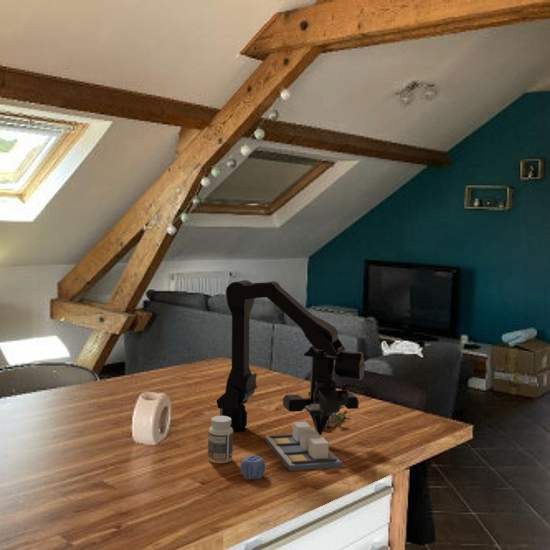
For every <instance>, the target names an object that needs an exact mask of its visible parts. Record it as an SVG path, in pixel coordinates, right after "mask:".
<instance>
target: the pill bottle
mask: <svg viewBox="0 0 550 550" xmlns="http://www.w3.org/2000/svg"><path fill="white" fill-rule="evenodd" d="M210 420H211V421H210V423H211V426H210V427H209V429H208V432H207V433H208V439H207V440H208V442H207V459H208V461H209V462H211V463H214V464H226V463H230V462H231V461H232V460H233V449H234V448H233V446H234V431H233V429H232V428H231V427H230V425H231V418H230V417H227V416H220V415H216V416H212V417H211V419H210Z"/></svg>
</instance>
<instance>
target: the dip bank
mask: <svg viewBox="0 0 550 550" xmlns="http://www.w3.org/2000/svg"><path fill="white" fill-rule="evenodd" d="M292 434H293V433H292ZM292 434H290V433H289V434H279V435H278V434H275V435H264V436H263V438H264V439H263V441H265V443H266V444H267V445H268V446H269V447H270V448H269V449H271V450H272V451H273V453H274V454H275V455H276V456H277V458H278V459H279V460H280V461H281V463H283V465H284V467H286V468H287V470H288V472H289V471H303V470H304V471H305V470H316V469H318V470H319V469H330V468H342V467H343V466H344V463H343V461H342V460H341V459H340V458H339V457H338V456H337V455H335V453H333V451H331V450H330V449H329V448H328V458H324V459H313V458H312V457H311V456H310V455H309V454H308V450H305V449H304V448H303V447H302V446H301V445H300V442H297V441H296V440H295V439H294V438H293V437H292Z"/></svg>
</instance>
